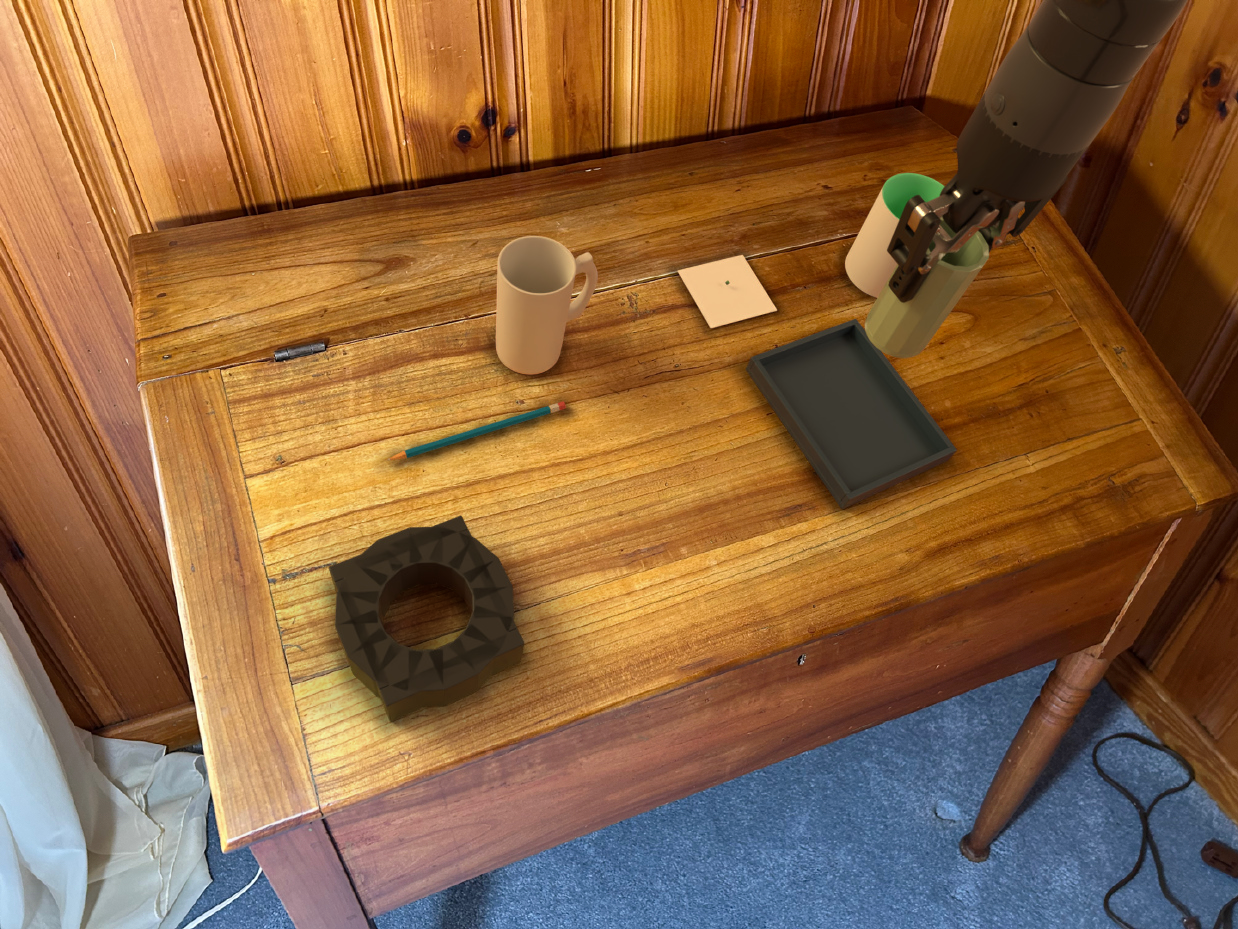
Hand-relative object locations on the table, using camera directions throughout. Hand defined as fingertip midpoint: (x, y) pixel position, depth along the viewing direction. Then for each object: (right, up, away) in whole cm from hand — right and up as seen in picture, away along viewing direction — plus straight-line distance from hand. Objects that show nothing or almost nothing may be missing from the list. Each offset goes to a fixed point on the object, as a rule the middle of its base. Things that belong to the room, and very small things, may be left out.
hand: (929, 282), depth 74 cm
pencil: (-38, -12, +10) cm, 41 cm away
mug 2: (+6, +7, +29) cm, 30 cm away
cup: (-1, -3, +6) cm, 7 cm away
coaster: (-14, +4, +23) cm, 27 cm away
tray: (-3, -10, +17) cm, 20 cm away
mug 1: (-32, -3, +16) cm, 36 cm away
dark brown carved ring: (-40, -28, 0) cm, 49 cm away
